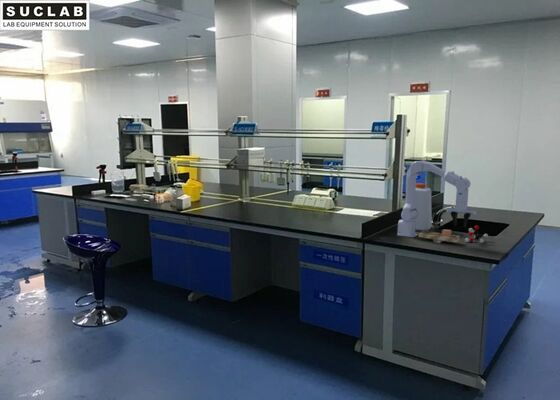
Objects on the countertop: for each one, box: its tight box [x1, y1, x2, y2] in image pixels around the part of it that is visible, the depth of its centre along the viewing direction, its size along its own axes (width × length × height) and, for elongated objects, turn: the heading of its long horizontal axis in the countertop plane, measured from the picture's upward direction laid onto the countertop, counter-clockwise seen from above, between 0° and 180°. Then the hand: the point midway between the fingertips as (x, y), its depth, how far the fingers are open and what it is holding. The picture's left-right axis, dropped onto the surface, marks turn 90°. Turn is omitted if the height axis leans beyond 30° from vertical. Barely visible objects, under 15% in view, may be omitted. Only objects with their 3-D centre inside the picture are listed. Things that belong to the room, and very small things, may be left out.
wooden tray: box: [418, 230, 460, 244], centre depth 235 cm, size 20×7×5 cm, turn 53°
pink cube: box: [441, 229, 452, 237], centre depth 232 cm, size 4×4×4 cm
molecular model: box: [464, 225, 489, 244], centre depth 234 cm, size 16×8×10 cm, turn 131°
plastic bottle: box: [415, 182, 433, 232], centre depth 265 cm, size 15×15×28 cm
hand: (459, 226), depth 228 cm, fingers open, 4 cm apart
